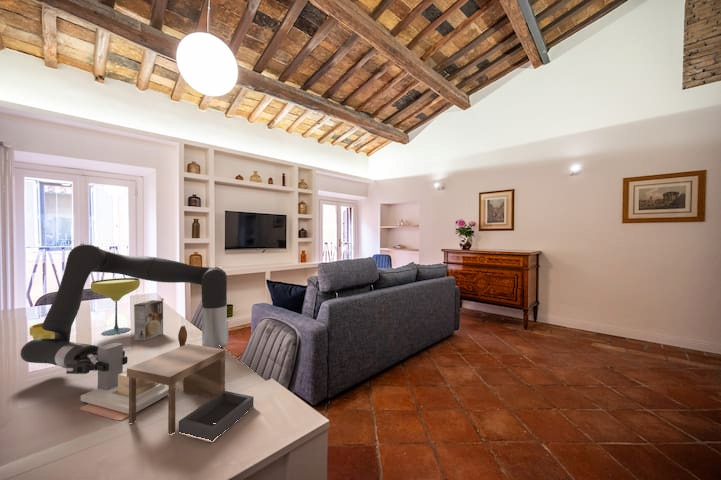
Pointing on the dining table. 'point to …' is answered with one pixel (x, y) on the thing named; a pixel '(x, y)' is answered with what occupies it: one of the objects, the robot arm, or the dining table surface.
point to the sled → (108, 384)
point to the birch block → (140, 385)
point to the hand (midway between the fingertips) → (116, 364)
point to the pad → (105, 411)
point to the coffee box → (148, 319)
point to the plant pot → (40, 332)
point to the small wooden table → (180, 375)
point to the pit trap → (216, 415)
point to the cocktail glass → (115, 295)
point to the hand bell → (182, 336)
